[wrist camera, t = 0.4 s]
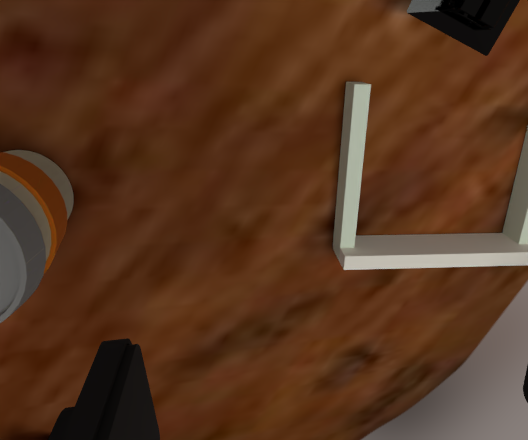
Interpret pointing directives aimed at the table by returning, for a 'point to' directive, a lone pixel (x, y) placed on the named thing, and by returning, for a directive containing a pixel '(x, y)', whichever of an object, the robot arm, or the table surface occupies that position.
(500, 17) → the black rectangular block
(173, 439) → the table surface
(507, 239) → the frame
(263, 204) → the table surface
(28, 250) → the reusable coffee cup
